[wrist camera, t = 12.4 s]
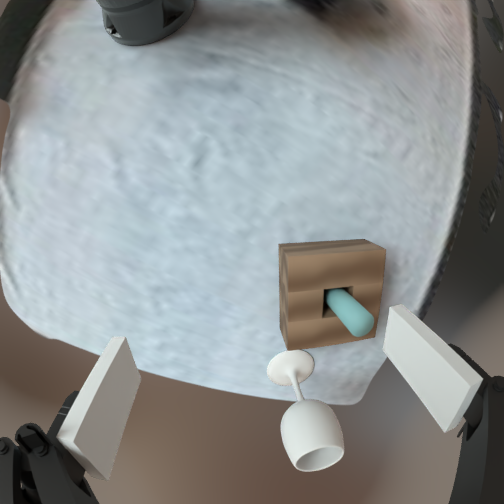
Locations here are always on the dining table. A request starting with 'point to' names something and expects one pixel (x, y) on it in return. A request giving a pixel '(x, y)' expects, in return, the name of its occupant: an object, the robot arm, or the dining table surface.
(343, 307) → the dowel
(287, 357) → the wineglass
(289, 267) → the socket block
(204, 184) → the dining table surface
